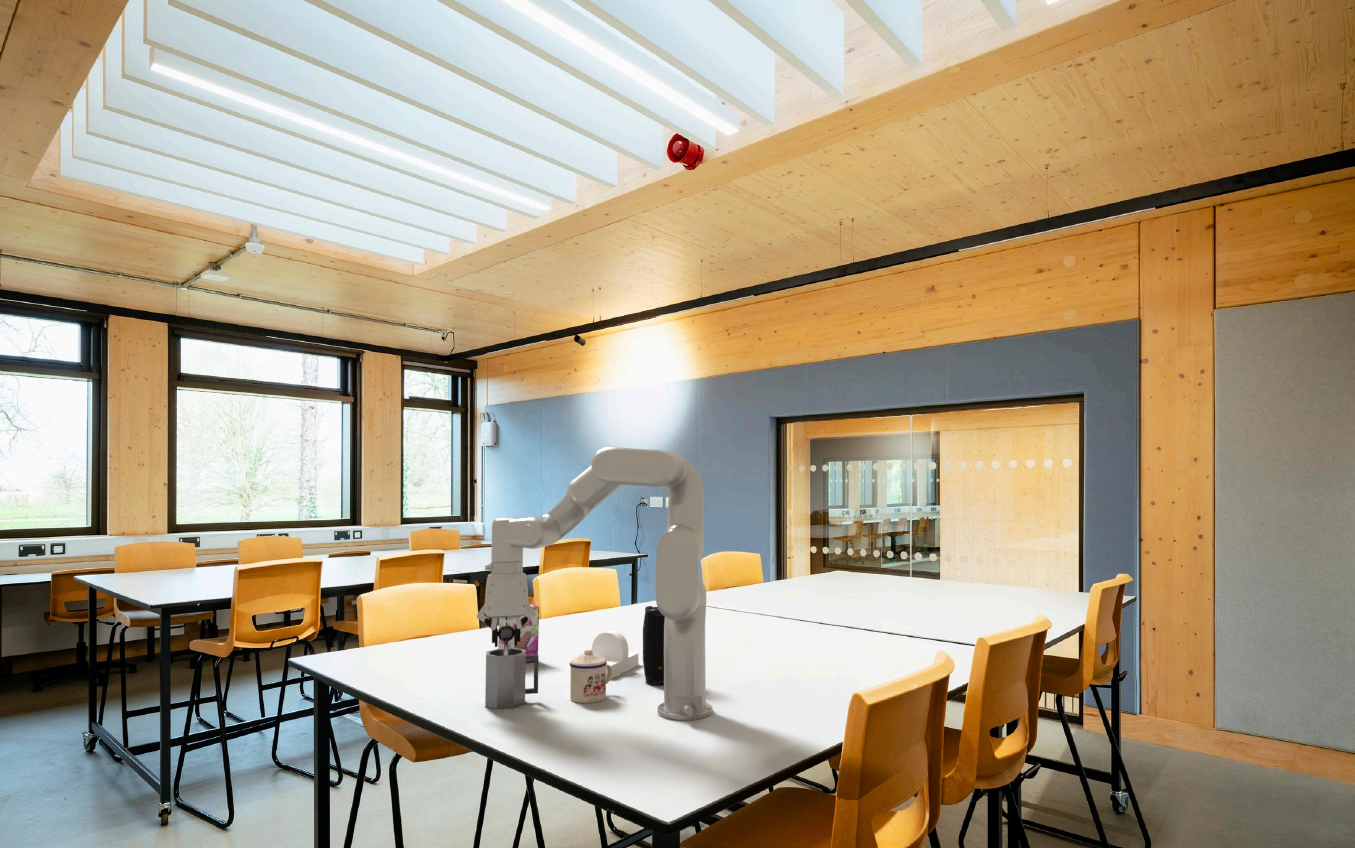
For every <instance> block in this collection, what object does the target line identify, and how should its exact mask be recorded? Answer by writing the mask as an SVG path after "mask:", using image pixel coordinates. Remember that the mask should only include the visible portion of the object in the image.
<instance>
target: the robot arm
mask: <svg viewBox="0 0 1355 848" xmlns="http://www.w3.org/2000/svg"><path fill="white" fill-rule="evenodd" d="M622 486H634V487H635V486H636V487H637V486H638V487H647V488H648V487H649V488H661V489H663V488H665V489H666V490H667V492H668V502H667V528H666V530H665V532H663V534H662V535H661V536H660V538H659V540H658V542H657V544H656V545H657V546H656V550H655V551H656V554H655V586H654V588H655V589H654V591H655V593H654V595H655V597H654V598H655V603H656V607H658V609H659V611H660V612H661V613H662V614H663V615H664V616H665V622H664V682H663V694H664V696H663V700H664V701H663V702H662V703H661V704H659V705H658V706H657V714H658V715H659V716H661V717H663V718H666V719H670V720H677V721H690V720H691V721H692V720H701V719H704V718H708V717H710V715H712V714H713V711H714V710H713V706H712V705H711V704H710V703H709V702H707V701H706V700H707V699H706V697H707V696H706V695H707V694H706V693H707V692H706V690H707V688H706V686H707V685H706V684H707V683H706V618H707V617H706V613H707V612H706V611H707V590H706V586H705V584H704V581H702V579H701V578H700V576H699V561H700V560H701V559H702V557H703V555H704V552H705V510H704V509H705V507H704V505H705V494H704V493H705V492H704V485H703V481H702V478H701V475H700V474H699V472H698V470H697V468H696V467H695V466H694V464H692V463H691V462H690V461H688V459H685V458H684V457H683V456H680V455H678V454H676V453H674V452H671V451H666V450H661V449H645V448H633V447H631V448H629V447H628V448H627V447H620V446H619V447H618V446H605V447H603V448H601V449H599V450H598V451H597V452H596V453H595V454H594V455H593V457H592V460H591V465H590V466H589V467H587V468H586V469H585V470H584V471H582V472H580V474H579V475H577V477H575V478H573V479H572V480H571V481H570V482H569V483H568V486H567V490H566V493H565V495H564V497H563V498H562V499H561V500H560V501H559V502H558V503H556V505H555V506H553V507H552V508H551V509H550V510H548V511H547V512H546V513H545V514H544V515H542V516H531V517H525V518H519V517H497V518H495V519H494V520H493V521H492V522H491V523H492V524H491V552H490V553H491V562H490V563H488V564H486V563H485V564H484V566H485V567H484V570H485V571H489V572H491V573H490V574H488V575H487V578H486V584H485V595H484V604H483V606H482V607H481V608H480V610H479V612H477V614H476V619H478V620H479V621H481V622H483V623H484V624H485V625H486V626H488V627H489V629H491V644H494V648H497V647H498V642H499V641H498V640H499V637H498V630H499V628H498V625H497V624H498V621H499V618H500V617H515V620H516V625H515V628H514V646H517V642H520V629H521V628H522V626H523V625H524V624H525V623H526V622H527V621H528V620H529V619H531V618H532V617H534V616H535V615H536V613H535V611H534V610H533V608H532V607H531V605H532V604H530V603H529V591H528V590H529V587H528V580H527V574H526V573H523V572H524V569H523V568H524V549H529V550H530V549H531V550H532V549H539V548H540V549H541V548H544V547H549V546H552V545H554V544H556V543H557V542H559V541H560V540H561V539H563V538H564V537H565V536H566V535H567V534H569V533H570V532H571V531H572V530H573V529H575V528H576V527H577V526H578V525H579V524H580V523H581V522H582V521H583V520H584V519H585V518H586V517H588V515H589V514H590V513H591V512H592V511H593V510H594V509H595V508H597V506H599V505H600V504H601V503H603V502H604V501H605V500H606V499H607V498H609V497H610V496H611V495H612V494H614V493H615V492H616V491H617V490H619V489H620V488H621V487H622ZM527 612H529V613H528V614H527ZM526 614H527V615H526ZM524 615H526V616H524ZM520 616H524V617H523V618H522V619H520ZM490 618H491V619H490Z"/></svg>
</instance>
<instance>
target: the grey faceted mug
mask: <svg viewBox="0 0 1355 848" xmlns="http://www.w3.org/2000/svg"><path fill="white" fill-rule="evenodd" d="M526 660H534V662H533V687H532V688H529V687H528V688H526ZM484 692H485V694H484V697H485V701H484V702H485V704H484V705H485V708H487V707H488V709H492V708H493V710H507V709H508V708H510V709H515V708H518V706H519V707H521V705H522V706H525V705H526V695H530V694H531V695H532V694H539V653H538V654H534V655H526V652H525V649H518V648H508V656H504V648H503V649H498V648H496V649H491V650H488V651H487V650H486V652H485V691H484Z"/></svg>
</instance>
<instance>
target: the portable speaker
mask: <svg viewBox="0 0 1355 848" xmlns="http://www.w3.org/2000/svg"><path fill="white" fill-rule="evenodd" d="M644 612H645V613H644V615H643V616H644V618H643V626H642V664H643V671H644V677H645V684H647V685H649V686H654V685H655V683H664V622H665V616H664V615H663V614H662V613H661V612H660V611H659V609H658V607H657V606H652V605H648V606H645V608H644Z"/></svg>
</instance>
